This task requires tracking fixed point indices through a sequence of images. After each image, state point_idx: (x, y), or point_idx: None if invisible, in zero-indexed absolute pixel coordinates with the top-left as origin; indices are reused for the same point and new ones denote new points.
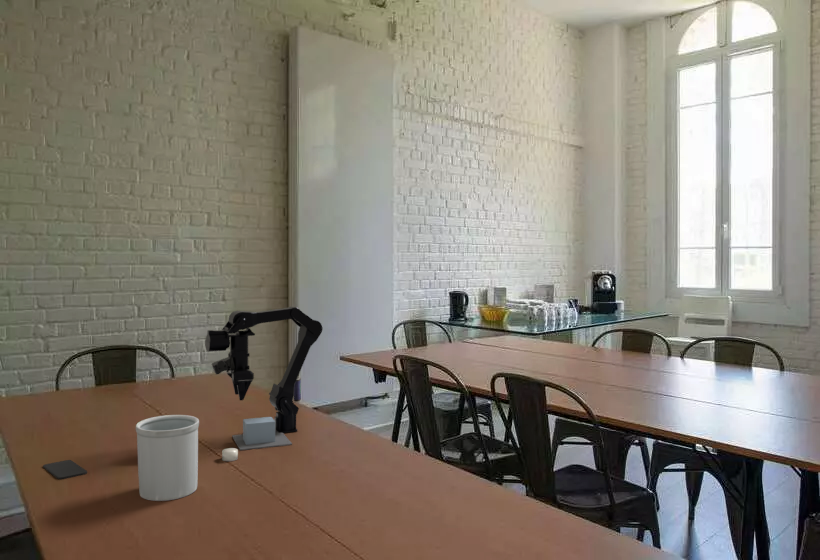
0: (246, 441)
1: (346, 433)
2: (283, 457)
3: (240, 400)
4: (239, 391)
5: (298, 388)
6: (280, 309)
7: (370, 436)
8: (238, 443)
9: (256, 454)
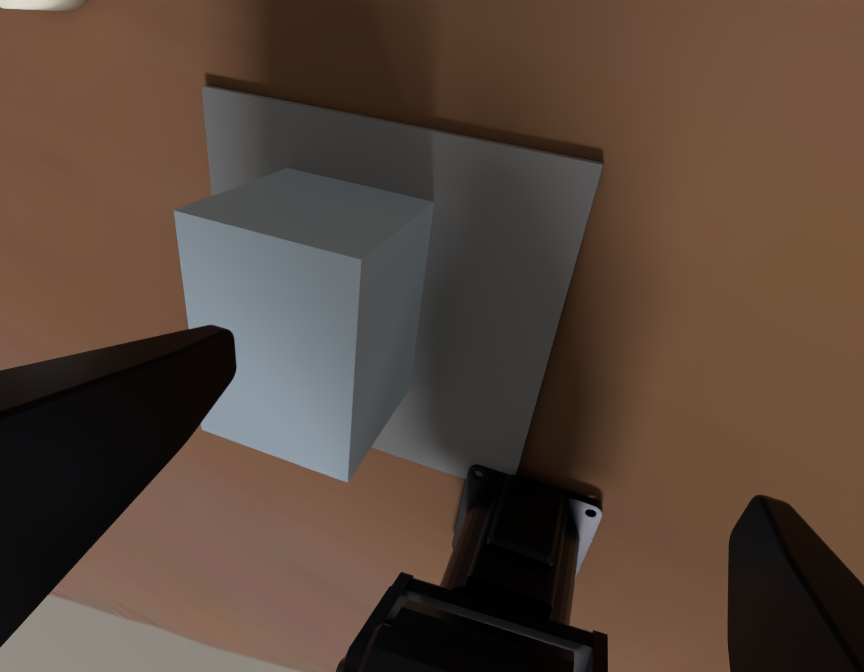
0: (273, 174)
1: (326, 635)
2: (54, 260)
3: (217, 331)
4: (10, 389)
5: None
6: None
7: (255, 649)
8: (339, 126)
9: (116, 156)
